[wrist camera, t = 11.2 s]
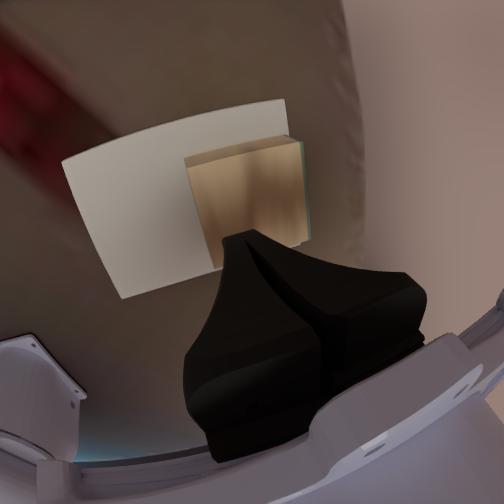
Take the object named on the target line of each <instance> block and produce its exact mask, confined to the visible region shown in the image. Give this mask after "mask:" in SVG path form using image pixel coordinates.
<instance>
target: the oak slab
mask: <svg viewBox="0 0 504 504" xmlns="http://www.w3.org/2000/svg"><path fill="white" fill-rule="evenodd" d="M183 159H184V163H185V167H186V171H187V174H188V178H189V182H190V186H191V190H192V194H193V197H194V201H195V205H196V208H197V212H198V216H199V219H200V223H201V227H202V230H203V234H204V237H205V241H206V244H207V248H208V251H209V254H210V257H211V260H212V263H213V266H214V269H217V268H220V267H223V260H224V249H223V245H222V239H223V238H224V237H227V236H230V235H234V234H237V233H240V232H244V231H247V230H251V229H255V230H257V231H259V232H260V233H262V234H264V235H266V236H267V237H269V238H271V239H273V240H275V241H277V242H279V243H281V244H283V245H285V246H287V247H288V246H291V245H295V244H298V243H301V242H304V241H308V240H311V227H310V213H309V199H308V187H307V176H306V166H305V156H304V146H303V141H301V140H298V139H296V138H293V137H291V136H288V135H286V134H284V135H278V136H273V137H268V138H263V139H258V140H253V141H249V142H244V143H240V144H235V145H231V146H227V147H223V148H219V149H215V150H211V151H207V152H203V153H199V154H196V155H192V156H188V157H185V158H183Z"/></svg>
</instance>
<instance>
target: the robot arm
mask: <svg viewBox="0 0 504 504" xmlns="http://www.w3.org/2000/svg"><path fill="white" fill-rule="evenodd" d="M222 245H223V249H224V260H223V270H222V276H221V281H220V286H219V290H218V293H217V296H216V299H215V302H214V305H213V307H212V310H211V312H210V315H209V317H208V319H207V321H206V323H205V325H204V327H203V328H202V330H201V332H200V334H199V336H198V337H197V339H196V340H195V342H194V343H193V345H192V346H191V348H190V349H189V351H188V352H187V354H186V355H185V360H184V370H183V390H184V397H185V402H186V407H187V410H188V412H189V415H190V416H191V417H192V419H193V420H194V421H195V422H196V423H197V424H198V426H199V427H200V428H201V429H202V430H203V431H204V433H205V434H206V438H207V442H208V446H209V450H210V452H207V453H202V454H198V455H193V456H189V457H184V458H178V459H173V460H168V461H161V462H155V463H148V464H141V465H132V466H122V467H110V468H93V469H92V468H91V469H80V468H79V467H77V466H76V465H74V464H72V462H73V461H74V459H75V457H76V454H77V451H78V434H79V409H80V400H81V399H86V398H87V394H86V393H85V392H84V391H83V390H82V389H81V388H80V387H79V386H78V385H77V384H76V383H75V382H74V381H73V380H72V379H71V378H70V377H69V376H68V375H67V373H66V372H65V371H64V370H63V369H62V368H61V367H60V366H59V365H58V364H57V363H56V361H55V360H54V359H53V358H52V357H51V356H50V355H49V353H48V352H47V351H46V350H45V349H44V348H43V346H42V345H41V344H40V343H39V341H38V340H37V339H36V338H35V337H34V336H33V335H31V334H28V335H24V336H21V337H17V338H13V339H9V340H6V341H2V342H0V504H504V424H503V423H502V421H501V420H500V419H499V418H498V416H497V415H496V414H495V412H494V411H493V410H492V408H491V407H490V406H489V404H488V403H487V402H486V401H485V398H486V397H487V396H488V395H489V394H490V392H492V390H494V389H495V387H496V386H497V385H498V384H499V383H500V382H501V381H502V380H503V379H504V289H503V290H502V292H501V293H500V295H499V298H498V300H497V302H496V305H495V306H494V307H493V308H492V309H491V310H489V311H488V312H487V313H486V314H485V315H484V316H482V317H481V318H480V319H479V320H478V321H476V322H475V323H474V324H472V325H471V326H470V327H469V328H467V329H466V330H465V331H463V332H462V333H461V334H460V335H458V336H456V335H455V334H453V333H446V334H444V335H442V336H440V337H438V338H436V339H434V340H433V341H431V342H429V343H428V344H426V345H425V344H424V343H423V341H424V340H425V337H424V335H423V334H422V333H421V332H420V331H419V327H420V324H421V321H422V318H423V315H424V312H425V309H426V304H427V295H426V293H425V291H424V289H423V288H422V287H421V286H420V285H418V283H416V282H415V281H414V280H413V279H412V278H411V277H410V276H409V275H408V274H406V273H405V272H382V271H371V270H364V269H357V268H351V267H346V266H342V265H337V264H333V263H329V262H326V261H323V260H319V259H316V258H313V257H310V256H308V255H305V254H303V253H300V252H298V251H295V250H293V249H291V248H289V247H287V246H285V245H283V244H281V243H279V242H277V241H275V240H273V239H271V238H269V237H267V236H266V235H264V234H262V233H260V232H259V231H257V230H255V229H251V230H247V231H244V232H240V233H237V234H234V235H230V236H227V237H224V238H223V239H222Z"/></svg>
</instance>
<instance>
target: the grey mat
mask: <svg viewBox="0 0 504 504" xmlns="http://www.w3.org/2000/svg"><path fill="white" fill-rule="evenodd" d="M284 134H286V135H288V136H289V131H288V123H287V116H286V109H285V102H284V99H274V100H267V101H261V102H255V103H249V104H244V105H238V106H233V107H228V108H223V109H219V110H214V111H210V112H205V113H201V114H197V115H193V116H189V117H185V118H181V119H178V120H174V121H170V122H167V123H163V124H160V125H156V126H153V127H150V128H147V129H144V130H140V131H137V132H134V133H131V134H128V135H125V136H123V137H120V138H117V139H114V140H111V141H109V142H106V143H103V144H101V145H98V146H96V147H93V148H90V149H88V150H86V151H83V152H81V153H78V154H76V155H74V156H71V157H69V158H67V159H64V160H63V161H62V165H63V168H64V171H65V174H66V177H67V180H68V182H69V185H70V188H71V190H72V193H73V196H74V198H75V201H76V203H77V206H78V208H79V211H80V213H81V216H82V218H83V220H84V223H85V225H86V227H87V230H88V232H89V234H90V236H91V239H92V241H93V243H94V245H95V247H96V249H97V252H98V254H99V256H100V258H101V260H102V262H103V264H104V266H105V268H106V270H107V272H108V274H109V276H110V278H111V280H112V282H113V284H114V285H115V287H116V289H117V291H118V293H119V295H120V297H121V298H122V299H124V298H128V297H131V296H134V295H138V294H141V293H144V292H148V291H151V290H154V289H158V288H161V287H164V286H168V285H171V284H174V283H177V282H181V281H184V280H187V279H191V278H194V277H197V276H201V275H204V274H207V273H210V272H214V271H217V270H220V269H223V267H220V268H217V269H214V266H213V263H212V260H211V257H210V254H209V251H208V248H207V244H206V241H205V237H204V234H203V230H202V227H201V223H200V219H199V216H198V212H197V208H196V205H195V201H194V197H193V194H192V190H191V186H190V182H189V178H188V174H187V171H186V167H185V163H184V159H183V158H185V157H188V156H192V155H196V154H199V153H203V152H207V151H211V150H215V149H219V148H223V147H227V146H231V145H235V144H240V143H244V142H249V141H253V140H258V139H263V138H268V137H273V136H278V135H284ZM298 245H301V244H300V243H298V244H295V245H291V246H288V247H289V248H292V247H295V246H298Z"/></svg>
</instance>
